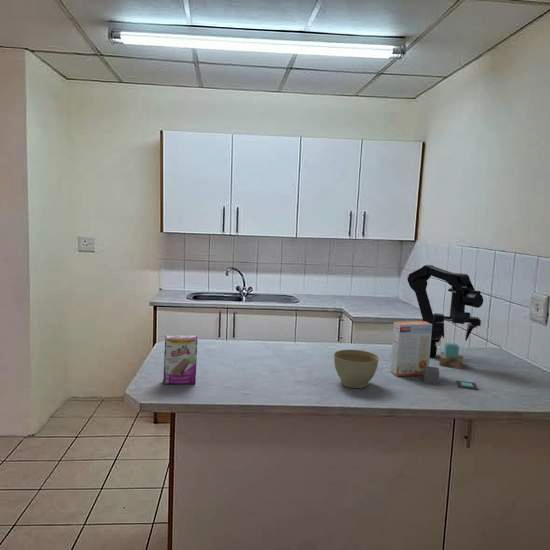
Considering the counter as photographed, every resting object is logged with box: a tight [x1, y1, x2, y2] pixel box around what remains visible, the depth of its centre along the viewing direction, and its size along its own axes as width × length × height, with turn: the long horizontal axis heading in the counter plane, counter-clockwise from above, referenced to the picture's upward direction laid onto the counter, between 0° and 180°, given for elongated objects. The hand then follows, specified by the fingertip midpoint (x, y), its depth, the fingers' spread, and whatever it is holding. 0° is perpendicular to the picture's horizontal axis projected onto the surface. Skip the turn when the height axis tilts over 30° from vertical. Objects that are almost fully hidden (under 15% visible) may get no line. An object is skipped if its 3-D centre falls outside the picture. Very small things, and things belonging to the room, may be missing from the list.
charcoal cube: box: [423, 366, 440, 385], centre depth 191 cm, size 5×5×5 cm
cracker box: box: [390, 320, 432, 377], centre depth 197 cm, size 14×6×21 cm, turn 103°
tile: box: [455, 380, 479, 391], centre depth 188 cm, size 7×7×1 cm
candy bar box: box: [163, 334, 198, 385], centre depth 174 cm, size 11×5×16 cm, turn 102°
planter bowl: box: [333, 349, 380, 389], centre depth 182 cm, size 16×16×11 cm
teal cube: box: [443, 342, 460, 358], centre depth 214 cm, size 5×5×5 cm
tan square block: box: [438, 351, 464, 370], centre depth 215 cm, size 9×9×4 cm
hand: (454, 339), depth 213 cm, fingers open, 9 cm apart
